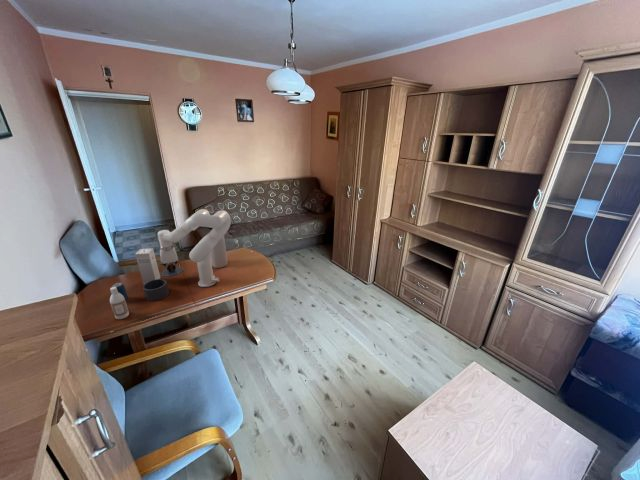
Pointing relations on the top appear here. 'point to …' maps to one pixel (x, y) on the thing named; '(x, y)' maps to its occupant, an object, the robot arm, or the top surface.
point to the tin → (155, 289)
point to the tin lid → (171, 271)
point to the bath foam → (118, 304)
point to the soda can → (120, 289)
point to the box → (147, 265)
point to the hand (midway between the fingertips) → (171, 270)
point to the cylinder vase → (219, 254)
